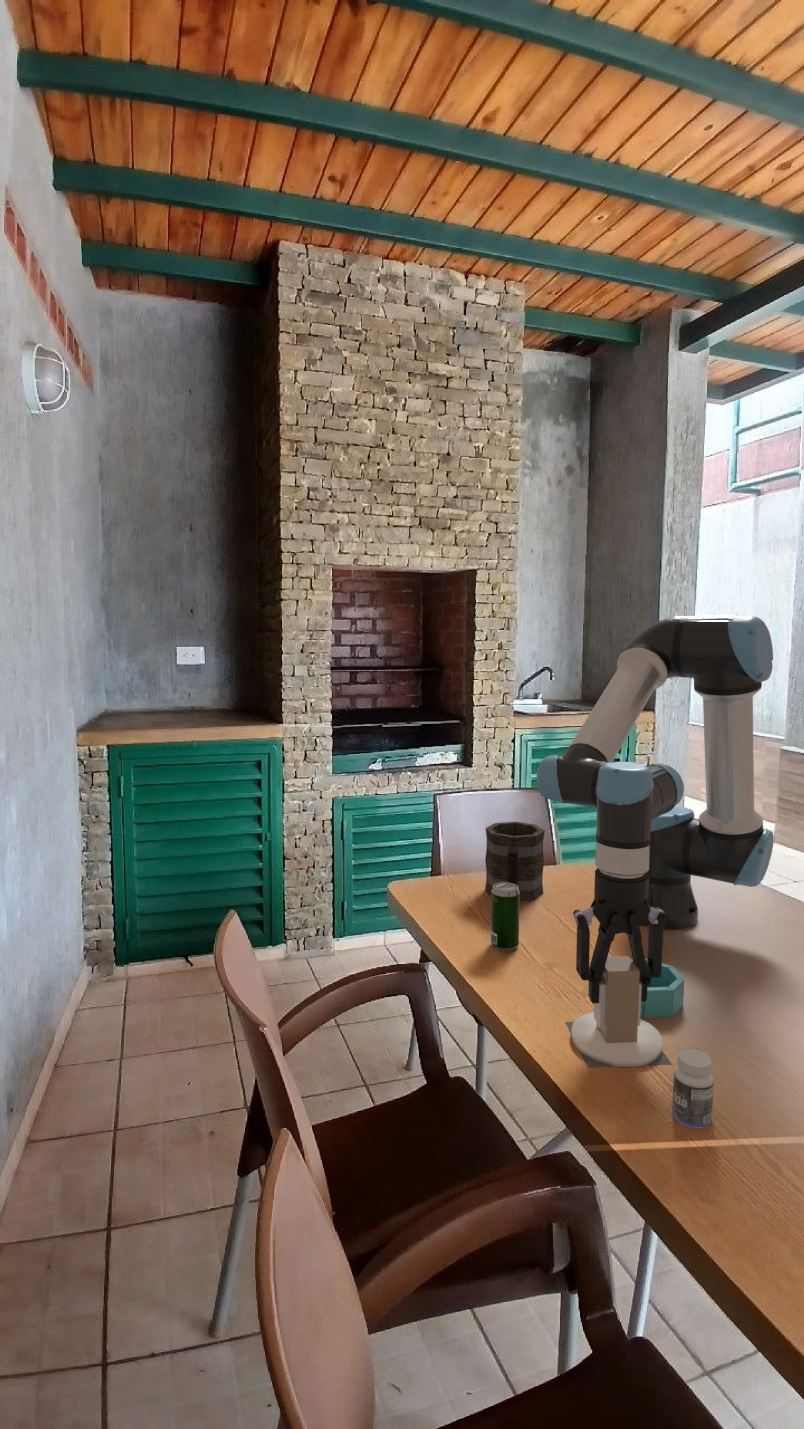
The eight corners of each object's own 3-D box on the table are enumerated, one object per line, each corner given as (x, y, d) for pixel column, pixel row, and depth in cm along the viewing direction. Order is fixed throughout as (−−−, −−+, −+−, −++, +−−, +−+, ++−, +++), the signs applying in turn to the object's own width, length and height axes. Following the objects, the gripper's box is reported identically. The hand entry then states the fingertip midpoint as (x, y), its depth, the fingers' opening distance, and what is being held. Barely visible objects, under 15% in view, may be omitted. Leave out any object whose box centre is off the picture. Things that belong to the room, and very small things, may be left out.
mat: (640, 1022, 119) (640, 1019, 119) (671, 1067, 107) (671, 1063, 107) (565, 1024, 118) (565, 1021, 118) (588, 1070, 106) (588, 1067, 106)
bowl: (664, 985, 131) (665, 958, 130) (691, 1018, 120) (693, 989, 119) (601, 987, 130) (602, 959, 129) (623, 1021, 119) (624, 991, 119)
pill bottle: (665, 1108, 98) (668, 1047, 97) (700, 1106, 98) (703, 1045, 97) (682, 1132, 93) (685, 1069, 92) (718, 1130, 94) (722, 1067, 93)
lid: (642, 1017, 119) (645, 943, 118) (676, 1065, 106) (680, 983, 105) (561, 1019, 119) (563, 946, 117) (586, 1068, 106) (588, 986, 104)
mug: (486, 880, 184) (487, 820, 182) (543, 883, 181) (544, 822, 179) (480, 911, 164) (481, 844, 163) (543, 915, 162) (544, 847, 160)
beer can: (503, 954, 143) (504, 893, 141) (485, 944, 147) (485, 885, 146) (524, 947, 146) (525, 888, 144) (506, 938, 150) (506, 880, 149)
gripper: (670, 860, 113) (664, 1006, 116) (554, 863, 112) (551, 1010, 115) (692, 877, 106) (685, 1033, 109) (568, 880, 105) (564, 1037, 108)
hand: (616, 1021), depth 112 cm, fingers closed on lid, 5 cm apart
